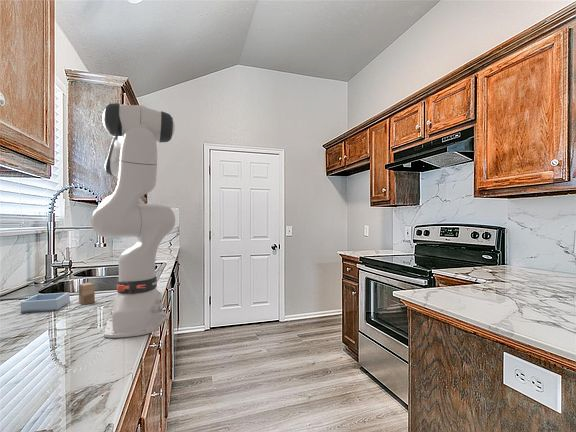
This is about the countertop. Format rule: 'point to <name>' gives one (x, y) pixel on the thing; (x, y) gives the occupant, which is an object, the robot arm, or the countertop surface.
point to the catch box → (45, 302)
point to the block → (86, 293)
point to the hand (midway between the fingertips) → (108, 222)
